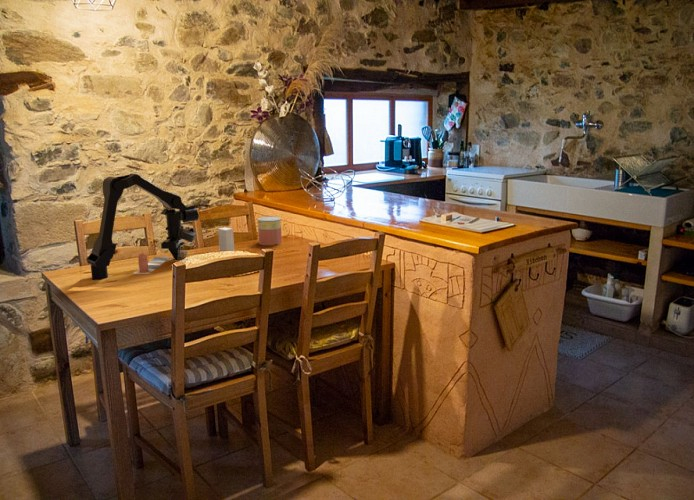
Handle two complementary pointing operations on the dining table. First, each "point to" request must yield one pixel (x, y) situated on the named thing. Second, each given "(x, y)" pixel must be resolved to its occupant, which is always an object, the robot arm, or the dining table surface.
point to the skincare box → (226, 239)
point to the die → (183, 254)
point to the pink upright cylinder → (143, 263)
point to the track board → (154, 264)
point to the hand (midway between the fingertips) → (176, 260)
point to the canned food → (269, 230)
